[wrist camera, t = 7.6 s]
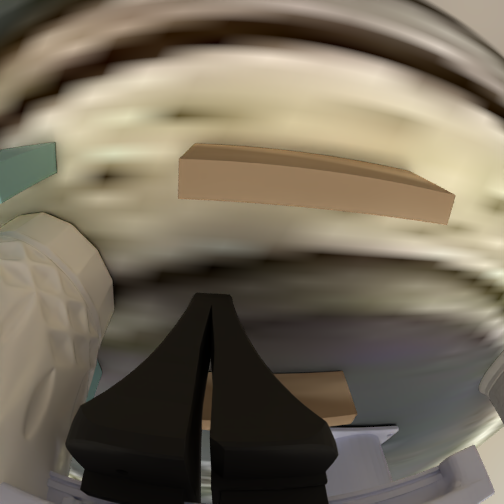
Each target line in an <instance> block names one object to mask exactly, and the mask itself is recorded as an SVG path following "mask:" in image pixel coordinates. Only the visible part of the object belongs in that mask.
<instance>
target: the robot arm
mask: <svg viewBox="0 0 504 504" xmlns="http://www.w3.org/2000/svg"><path fill="white" fill-rule="evenodd" d="M210 359H211V367H212V383H213V389H212V407H211V424H210V453H211V491H212V502H213V504H479V503H481V502H483V501H484V500H486V499H487V498H489V497H490V496H492V495H493V494H494V492H495V491H494V489H493V486H492V483H491V481H490V479H489V476H488V474H487V471H486V469H485V467H484V465H483V462H482V460H481V458H480V456H479V453H478V451H477V449H476V447H475V445H472V446H470V447H467V448H465V449H463V450H461V451H459V452H457V453H455V454H453V455H451V456H449V457H448V458H446V459H445V460H444V461H443V462H441V463H440V465H439V466H436V467H434V468H431V469H429V470H426V471H423V472H421V473H418V474H415V475H412V476H409V477H406V478H403V479H400V480H397V481H394V482H393V480H392V477H391V474H390V471H389V468H388V465H387V462H386V459H385V456H384V453H383V450H382V447H381V444H383V443H384V442H385V441H386V440H388V439H389V438H390V437H391V436H393V435H394V434H395V433H396V432H397V431H398V430H399V429H398V426H384V427H358V428H330V427H329V425H328V423H327V422H326V421H325V420H324V419H322V418H321V417H319V416H318V415H317V414H315V413H314V412H313V411H311V410H310V409H309V408H308V407H306V406H305V405H304V404H303V403H302V402H301V401H299V400H298V399H297V398H296V397H295V396H294V395H293V394H292V393H291V392H290V391H289V390H288V389H287V388H286V387H285V386H284V385H283V384H282V383H281V382H280V381H279V380H278V379H277V378H276V377H275V375H274V374H273V373H272V372H271V371H270V369H269V368H268V367H267V366H266V364H265V363H264V362H263V360H262V359H261V358H260V356H259V355H258V353H257V352H256V350H255V349H254V347H253V345H252V344H251V342H250V340H249V338H248V337H247V335H246V333H245V331H244V329H243V327H242V325H241V323H240V321H239V318H238V316H237V313H236V311H235V308H234V305H233V301H232V297H231V296H230V295H227V294H209V293H196V294H195V295H194V296H193V298H192V300H191V302H190V304H189V306H188V307H187V309H186V311H185V312H184V314H183V315H182V317H181V318H180V320H179V321H178V322H177V324H176V325H175V327H174V328H173V329H172V331H171V332H170V333H169V334H168V336H167V337H166V338H165V339H164V341H163V342H162V343H161V344H160V345H159V346H158V347H157V349H156V350H155V351H154V352H153V353H152V354H151V355H150V356H149V357H148V358H147V359H146V360H145V361H144V362H142V363H141V364H140V365H139V366H138V367H137V368H136V369H135V370H133V371H132V372H131V373H130V374H129V375H127V376H126V377H125V378H123V379H122V380H121V381H119V382H118V383H116V384H115V385H114V386H112V387H111V388H109V389H108V390H106V391H105V392H103V393H102V394H100V395H98V396H96V397H95V398H93V399H91V400H89V401H88V402H86V403H84V404H82V405H80V407H79V409H78V411H77V413H76V415H75V417H74V419H73V421H72V424H71V427H70V430H69V433H68V436H67V439H66V442H65V445H66V448H67V450H68V451H69V453H70V454H71V455H72V456H73V457H74V458H75V460H76V461H77V462H78V463H79V464H80V465H81V466H82V467H83V468H84V469H85V470H84V474H83V478H82V481H79V480H76V479H73V478H70V477H67V476H64V475H61V474H58V473H56V472H53V471H50V473H49V475H50V477H51V478H50V479H48V482H47V486H48V487H49V488H48V493H47V498H46V500H45V499H42V498H40V497H37V496H35V495H32V494H30V493H28V492H25V491H23V490H21V489H18V488H16V487H14V486H12V485H10V484H8V483H5V482H2V483H1V484H0V504H204V503H201V436H202V412H203V403H204V396H205V390H206V384H207V377H208V371H209V365H210Z"/></svg>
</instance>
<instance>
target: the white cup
mask: <svg viewBox="0 0 504 504" xmlns="http://www.w3.org/2000/svg"><path fill="white" fill-rule="evenodd" d="M113 312H114V295H113V280H112V278H111V276H110V274H109V272H108V270H107V268H106V266H105V264H104V262H103V260H102V258H101V256H100V254H99V252H98V250H97V249H96V248H95V247H94V246H93V245H92V244H91V243H90V242H89V241H88V240H87V239H86V238H85V237H84V236H83V235H82V234H81V233H80V232H79V231H78V230H77V229H76V228H75V227H74V226H73V225H72V224H70V223H68V222H65V221H63V220H61V219H58V218H56V217H53V216H51V215H49V214H47V213H44V212H41V213H34V214H27V215H20V216H18V217H16V218H14V219H13V220H11V221H10V222H8V223H6V224H5V225H3V226H2V227H0V484H1V483H2V482H5V483H8V484H10V485H12V486H14V487H16V488H18V489H21V490H23V491H25V492H28V493H30V494H32V495H35V496H37V497H40V498H42V499H45V500H46V498H47V493H48V488H49V487H48V486H47V482H48V479H50V478H51V477H50V475H49V473H50V471H53V472H56V473H58V474H61V475H64V476H67V477H68V476H69V471H70V466H71V462H72V457H73V456H72V455H71V454H70V453H69V451H68V450H67V448H66V445H65V442H66V439H67V436H68V433H69V430H70V427H71V424H72V421H73V419H74V417H75V415H76V413H77V411H78V409H79V407H80V405H82V404H84V403H86V399H87V396H88V392H89V389H90V385H91V382H92V379H93V375H94V371H95V368H96V365H97V356H98V350H99V348H100V345H101V342H102V339H103V337H104V334H105V332H106V329H107V327H108V324H109V322H110V319H111V317H112V314H113Z"/></svg>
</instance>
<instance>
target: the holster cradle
mask: <svg viewBox="0 0 504 504" xmlns="http://www.w3.org/2000/svg"><path fill="white" fill-rule="evenodd" d="M178 199H198V200H216V201H233V202H247V203H261V204H274V205H286V206H297V207H308V208H318V209H328V210H338V211H347V212H356V213H364V214H372V215H380V216H388V217H396V218H403V219H410V220H417V221H424V222H431V223H437V224H444V225H447V223H448V220H449V217H450V213H451V210H452V206H453V203H454V199H455V195H454V194H452V193H450V192H448V191H447V190H445V189H443V188H441V187H439V186H437V185H436V184H434V183H432V182H430V181H428V180H426V179H424V178H422V177H420V176H418V175H416V174H414V173H412V172H410V171H407V170H402V169H398V168H393V167H388V166H383V165H378V164H373V163H368V162H362V161H357V160H351V159H345V158H339V157H333V156H326V155H319V154H312V153H304V152H296V151H288V150H279V149H269V148H259V147H247V146H233V145H217V144H194V145H193V146H192V147H191V148H190V149H189V150H188V151H187V152H186V153H185V154H184V155H183V156H182V157H181V158H180V159H179V183H178ZM274 375H275V377H276V378H277V379H278V380H279V381H280V382H281V383H282V384H283V385H284V386H285V387H286V388H287V389H288V390H289V391H290V392H291V393H292V394H293V395H294V396H295V397H296V398H297V399H298V400H299V401H301V402H302V403H303V404H304V405H305V406H306V407H308V408H309V409H310V410H311V411H313V412H314V413H315V414H317V415H318V416H319V417H321V418H322V419H324V420H325V421H326V422H327V423H328V425H329V426H338V425H345V424H351V423H352V421H353V420H354V418H355V417H356V415H357V412H356V409H355V406H354V403H353V400H352V397H351V394H350V391H349V388H348V385H347V382H346V379H345V376H344V373H343V371H335V372H318V373H290V374H274ZM212 389H213V383H212V372H208V377H207V384H206V390H205V396H204V403H203V412H202V430H210V424H211V407H212Z"/></svg>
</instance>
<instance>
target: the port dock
mask: <svg viewBox="0 0 504 504" xmlns="http://www.w3.org/2000/svg"><path fill="white" fill-rule="evenodd" d="M55 173H57V170H56V153H55V142H53V143H44V144H36V145H29V146H22V147H15V148H9V149H3V150H0V204H1V203H3V202H5V201H6V200H8V199H10V198H11V197H13V196H15V195H16V194H18V193H20V192H22V191H23V190H25V189H27V188H29V187H30V186H32V185H34V184H36V183H38V182H40V181H41V180H43V179H45V178H47V177H49V176H51V175H53V174H55ZM101 375H102V371H101V368H100V365H99V363H98V360H97V365H96V368H95V371H94V375H93V379H92V382H91V385H90V389H89V392H88V396H87V399H86V402H88V401H89V400H91V399H93V398H94V395H95V392H96V389H97V386H98V383H99V380H100V378H101Z"/></svg>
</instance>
